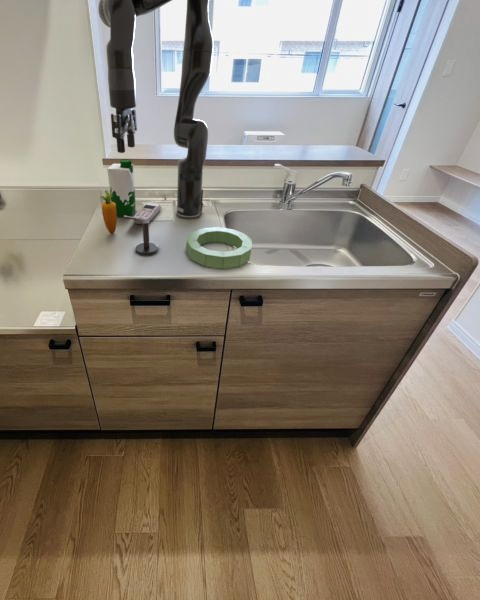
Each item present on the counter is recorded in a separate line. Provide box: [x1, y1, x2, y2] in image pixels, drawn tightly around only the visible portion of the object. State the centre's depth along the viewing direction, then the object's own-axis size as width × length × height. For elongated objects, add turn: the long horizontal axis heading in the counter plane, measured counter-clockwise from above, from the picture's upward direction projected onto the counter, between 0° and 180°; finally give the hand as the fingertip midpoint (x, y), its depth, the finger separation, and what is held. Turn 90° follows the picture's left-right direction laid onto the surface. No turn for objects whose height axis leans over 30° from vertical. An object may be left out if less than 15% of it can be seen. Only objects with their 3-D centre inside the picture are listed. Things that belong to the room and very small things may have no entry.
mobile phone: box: [123, 202, 162, 225], centre depth 119 cm, size 6×6×25 cm
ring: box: [185, 226, 253, 270], centre depth 100 cm, size 20×20×4 cm
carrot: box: [99, 189, 118, 236], centre depth 105 cm, size 5×5×15 cm
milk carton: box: [106, 158, 136, 218], centre depth 119 cm, size 9×9×20 cm
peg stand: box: [135, 221, 159, 257], centre depth 98 cm, size 7×7×10 cm
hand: (126, 149), depth 99 cm, fingers open, 8 cm apart
